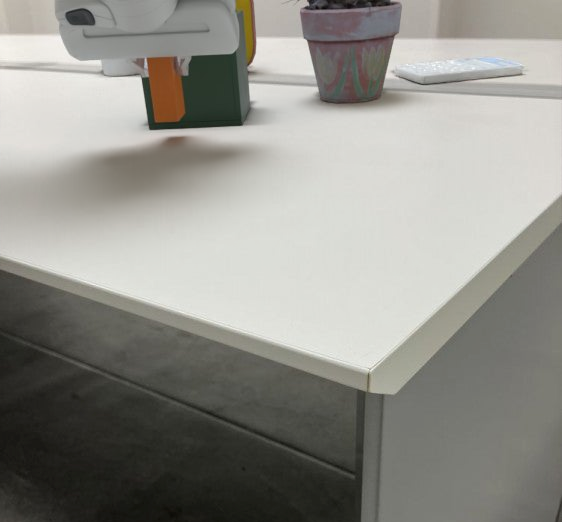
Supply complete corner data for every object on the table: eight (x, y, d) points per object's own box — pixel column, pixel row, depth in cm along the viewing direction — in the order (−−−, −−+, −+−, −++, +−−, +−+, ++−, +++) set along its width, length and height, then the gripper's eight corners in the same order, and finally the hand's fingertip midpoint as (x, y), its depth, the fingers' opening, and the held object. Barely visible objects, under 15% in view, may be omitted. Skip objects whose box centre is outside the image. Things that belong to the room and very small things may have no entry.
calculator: (392, 75, 128) (392, 64, 127) (489, 65, 132) (490, 54, 131) (421, 85, 117) (421, 73, 116) (526, 74, 121) (527, 62, 120)
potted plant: (295, 89, 121) (288, -79, 108) (407, 86, 117) (413, -89, 104) (275, 110, 106) (264, -83, 93) (403, 106, 102) (410, -94, 89)
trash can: (149, 129, 99) (132, 23, 92) (167, 111, 110) (153, 15, 103) (242, 125, 98) (233, 17, 91) (250, 107, 109) (243, 9, 102)
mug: (133, 76, 146) (127, 34, 142) (92, 76, 150) (85, 35, 146) (164, 67, 157) (159, 27, 153) (125, 67, 160) (119, 29, 156)
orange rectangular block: (155, 122, 86) (142, 34, 81) (163, 114, 90) (151, 30, 85) (178, 121, 86) (167, 33, 80) (185, 113, 90) (175, 29, 85)
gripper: (232, -45, 72) (248, 46, 86) (44, -34, 74) (89, 53, 87) (231, 6, 71) (247, 90, 84) (40, 16, 72) (85, 97, 86)
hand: (165, 72), depth 86 cm, fingers closed on orange rectangular block, 3 cm apart
